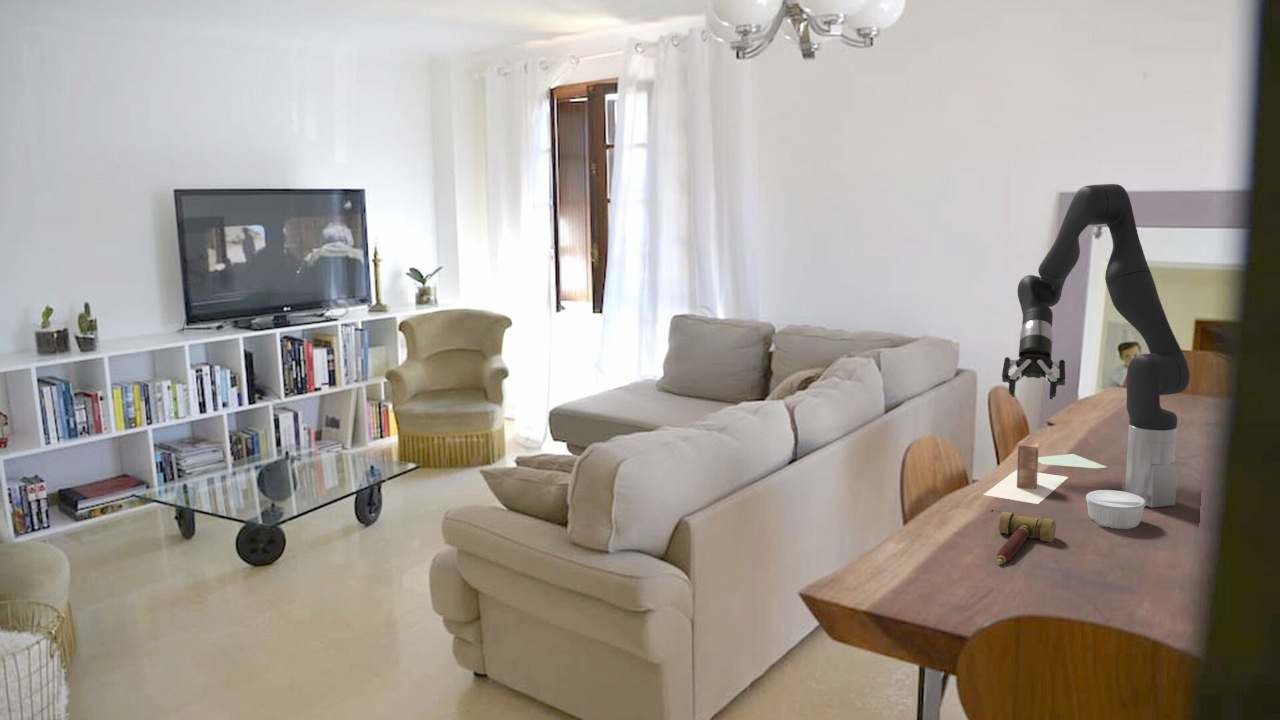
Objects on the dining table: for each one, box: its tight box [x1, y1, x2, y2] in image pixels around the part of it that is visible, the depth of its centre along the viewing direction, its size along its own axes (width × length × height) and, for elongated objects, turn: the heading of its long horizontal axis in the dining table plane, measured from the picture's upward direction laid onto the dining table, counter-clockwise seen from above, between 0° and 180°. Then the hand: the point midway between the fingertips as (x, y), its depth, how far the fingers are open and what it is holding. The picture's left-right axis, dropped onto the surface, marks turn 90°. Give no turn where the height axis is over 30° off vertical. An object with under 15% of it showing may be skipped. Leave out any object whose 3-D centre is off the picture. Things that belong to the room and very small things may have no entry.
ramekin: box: [1085, 489, 1146, 530], centre depth 196 cm, size 11×11×5 cm
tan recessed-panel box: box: [1016, 440, 1040, 489], centre depth 218 cm, size 4×4×10 cm
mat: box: [1038, 453, 1109, 470], centre depth 238 cm, size 13×13×1 cm
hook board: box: [982, 469, 1069, 505], centre depth 218 cm, size 24×12×7 cm, turn 141°
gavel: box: [996, 511, 1057, 565], centre depth 183 cm, size 21×5×10 cm
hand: (1031, 396), depth 227 cm, fingers open, 8 cm apart
